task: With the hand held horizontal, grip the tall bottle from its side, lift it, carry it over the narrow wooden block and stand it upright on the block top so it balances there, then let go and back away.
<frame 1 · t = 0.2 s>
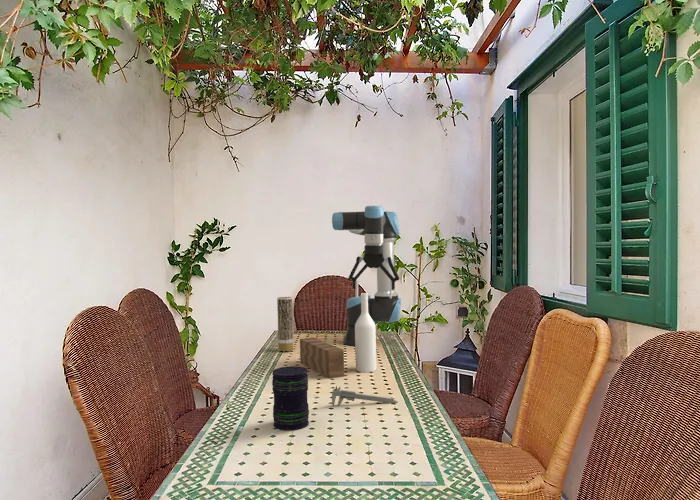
hand: (373, 297, 209), 28 cm above the table, tool pointing down, fingers open, 13 cm apart
caliper: (365, 405, 161), on the table
bottle: (366, 370, 204), on the table
wooden block: (321, 369, 207), on the table
paper tube: (285, 351, 245), on the table
storage jar: (291, 425, 144), on the table
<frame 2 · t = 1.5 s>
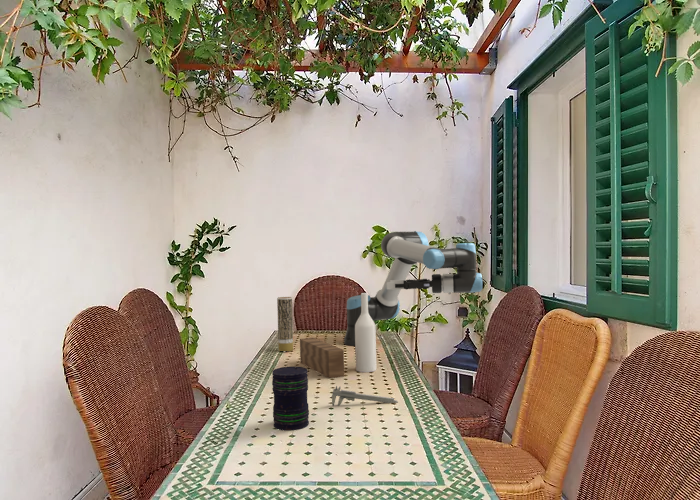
hand: (388, 284, 211), 33 cm above the table, tool horizontal, fingers open, 13 cm apart
nothing on the table moved.
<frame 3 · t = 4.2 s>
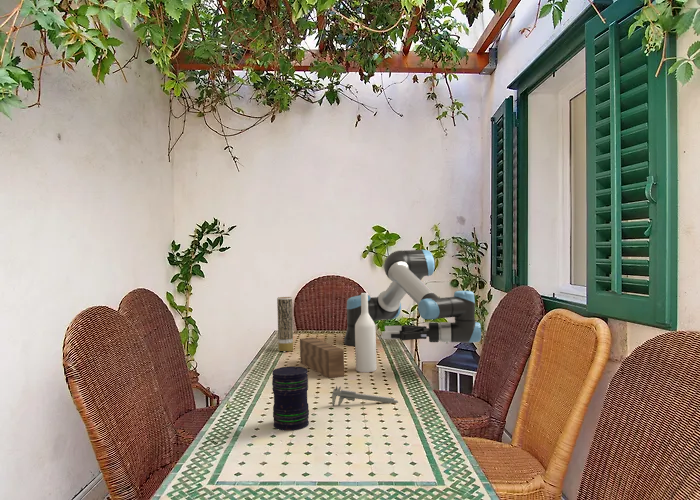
hand: (383, 332, 203), 15 cm above the table, tool horizontal, fingers open, 13 cm apart
nothing on the table moved.
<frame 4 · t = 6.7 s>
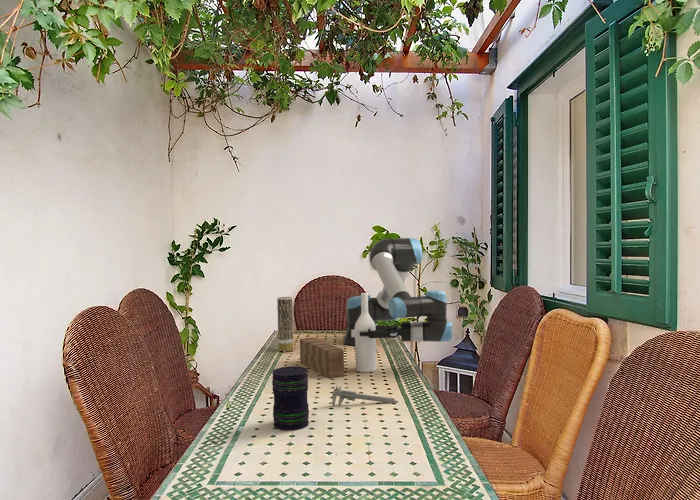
hand: (353, 331, 205), 15 cm above the table, tool horizontal, fingers closed on bottle, 8 cm apart
bottle: (366, 370, 204), on the table, touching gripper
everything else where it was.
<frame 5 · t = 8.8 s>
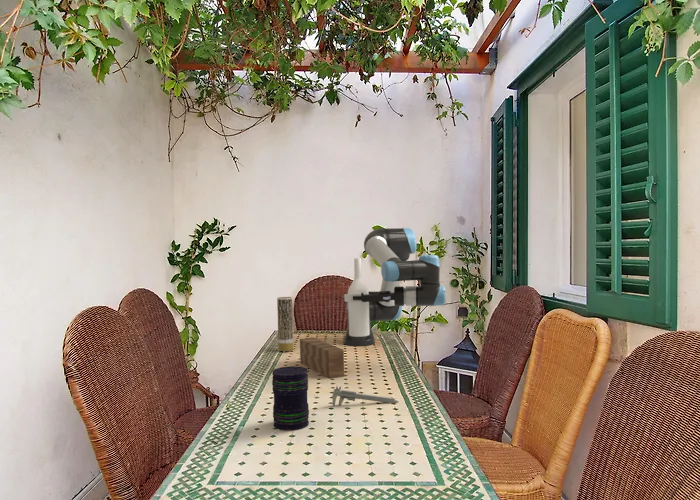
hand: (346, 296, 205), 29 cm above the table, tool horizontal, fingers closed on bottle, 8 cm apart
bottle: (359, 335, 204), point 14 cm above the table, touching gripper
everything else where it was.
when the fingers open (26 cm above the table, at t = 10.9 s): bottle drops 1 cm, resting on wooden block.
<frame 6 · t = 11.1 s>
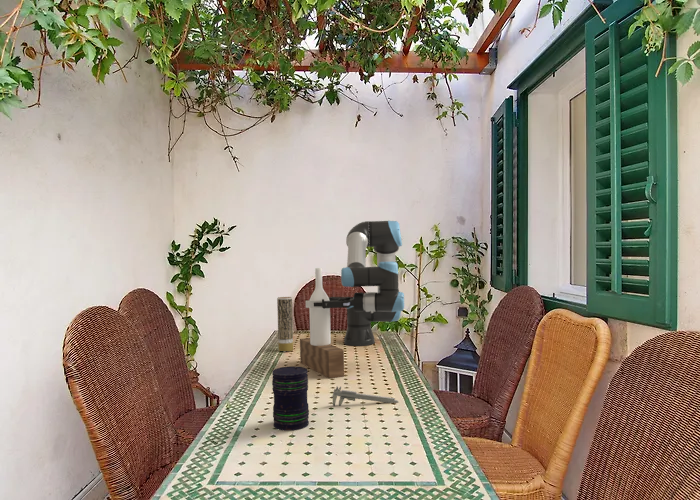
hand: (309, 302, 208), 26 cm above the table, tool horizontal, fingers open, 10 cm apart
bottle: (320, 344, 207), point 10 cm above the table, touching wooden block
everything else where it was.
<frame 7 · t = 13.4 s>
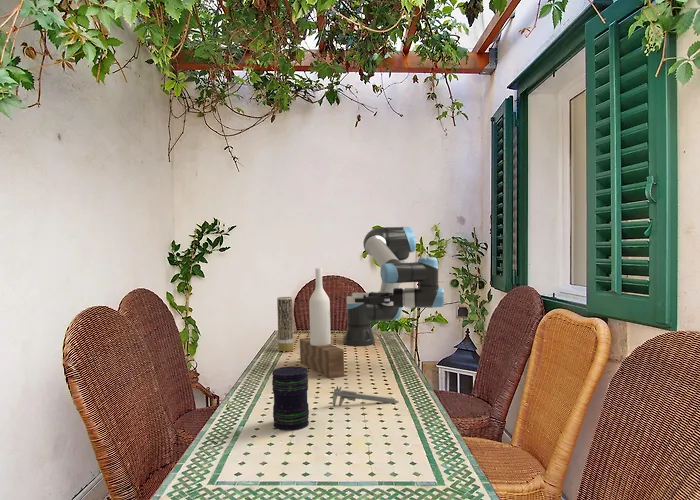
hand: (349, 298, 206), 28 cm above the table, tool horizontal, fingers open, 13 cm apart
nothing on the table moved.
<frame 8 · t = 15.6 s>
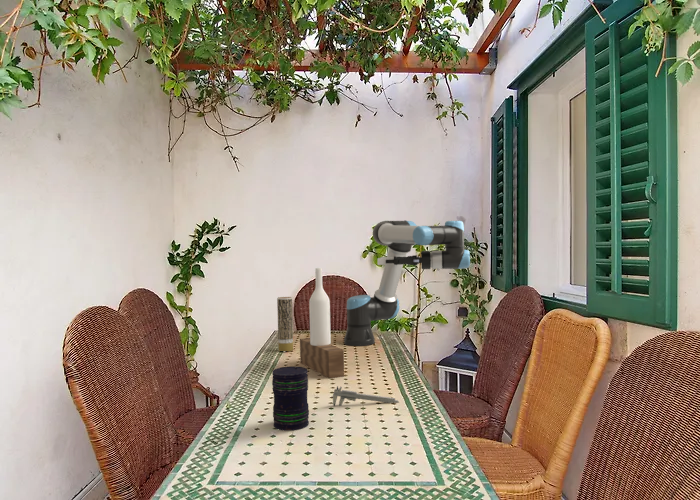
hand: (379, 260, 217), 42 cm above the table, tool horizontal, fingers open, 13 cm apart
nothing on the table moved.
at the end: bottle inside the target area on the wooden block (0.0 cm from its centre), point 9.8 cm above the wooden block's base; bottle tilted 0°; the gripper is holding nothing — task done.
